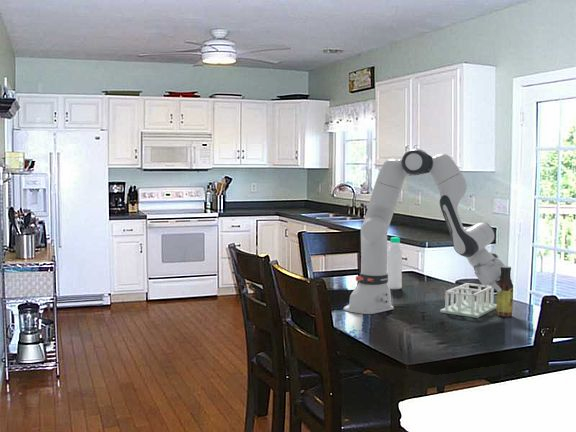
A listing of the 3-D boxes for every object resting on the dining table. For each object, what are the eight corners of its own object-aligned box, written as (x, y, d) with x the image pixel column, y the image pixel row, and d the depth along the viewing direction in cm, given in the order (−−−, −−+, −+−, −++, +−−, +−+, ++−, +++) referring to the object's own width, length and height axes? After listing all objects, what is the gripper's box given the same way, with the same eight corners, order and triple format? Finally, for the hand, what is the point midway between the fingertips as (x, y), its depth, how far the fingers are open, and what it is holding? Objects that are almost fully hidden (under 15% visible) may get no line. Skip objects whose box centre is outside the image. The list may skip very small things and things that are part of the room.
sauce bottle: (513, 317, 258) (515, 268, 257) (497, 316, 259) (499, 267, 258) (511, 314, 265) (513, 266, 263) (495, 313, 266) (497, 265, 264)
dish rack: (477, 317, 258) (478, 295, 257) (439, 312, 267) (440, 290, 267) (499, 306, 278) (499, 286, 277) (463, 301, 287) (463, 281, 287)
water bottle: (401, 286, 321) (402, 236, 319) (402, 289, 314) (403, 238, 312) (386, 286, 322) (387, 236, 320) (387, 289, 315) (388, 238, 313)
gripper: (477, 261, 257) (500, 289, 252) (498, 253, 272) (520, 279, 267) (466, 271, 260) (489, 298, 255) (487, 262, 276) (509, 288, 271)
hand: (505, 288), depth 261 cm, fingers open, 8 cm apart
